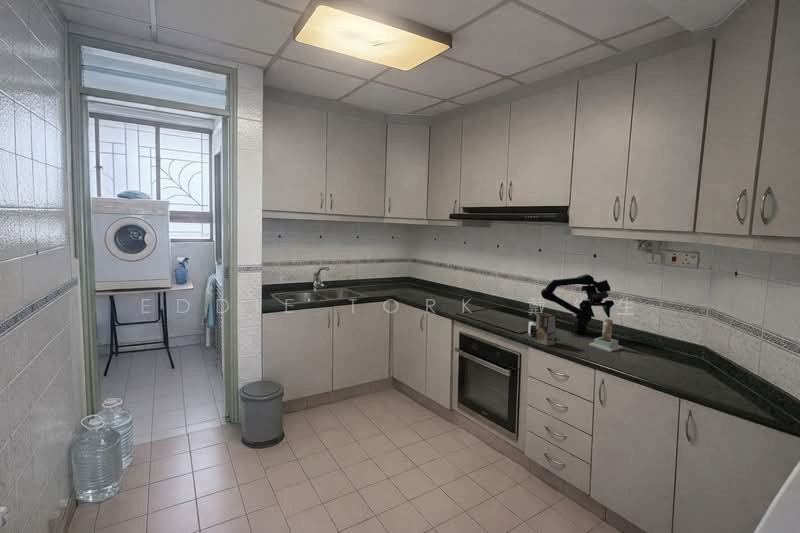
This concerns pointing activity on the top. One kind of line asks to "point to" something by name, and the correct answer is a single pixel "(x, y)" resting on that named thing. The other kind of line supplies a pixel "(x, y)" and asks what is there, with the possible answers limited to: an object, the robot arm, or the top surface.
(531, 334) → the medicine bottle
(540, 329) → the coffee box
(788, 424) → the top surface
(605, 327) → the birch peg
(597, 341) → the socket collar
